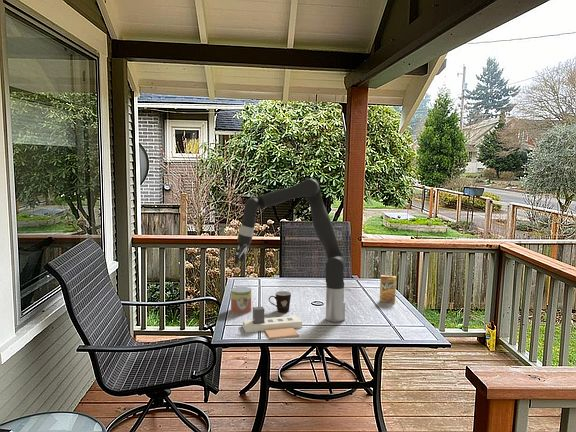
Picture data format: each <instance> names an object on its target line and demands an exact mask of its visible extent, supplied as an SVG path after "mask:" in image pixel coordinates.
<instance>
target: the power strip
mask: <svg viewBox="0 0 576 432" xmlns="http://www.w3.org/2000/svg"><path fill="white" fill-rule="evenodd" d="M242 327H243V329H244V331H245V333H254V332H256V333H257V332H265V330H269V329H281V328H292V327H293V328H294V329H298V328H300V329H301V328H303V321H302V320H301V318H300V317H299V316H298V315H289V316H279V317H278V316H277V317H264V323H261V324H253V318H252V319H250V318H249V319H242Z"/></svg>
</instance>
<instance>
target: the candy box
mask: <svg viewBox="0 0 576 432" xmlns="http://www.w3.org/2000/svg"><path fill="white" fill-rule="evenodd" d="M379 280H380V282H379V302H385V303H392V304H395V303H396V291H397V290H396V289H397V288H396V287H397V276H396V275H387V274H381V275H380V279H379Z"/></svg>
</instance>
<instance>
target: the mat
mask: <svg viewBox="0 0 576 432" xmlns="http://www.w3.org/2000/svg"><path fill="white" fill-rule="evenodd" d="M264 332H265V334H266V336H267V338H268V339H269V340H275V338H277V339H286V337H288V338H296V337H299V333H298V332H297V331H296V328H293V327H292V328H281V329H269V330H265V331H264ZM284 337H285V338H284Z"/></svg>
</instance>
